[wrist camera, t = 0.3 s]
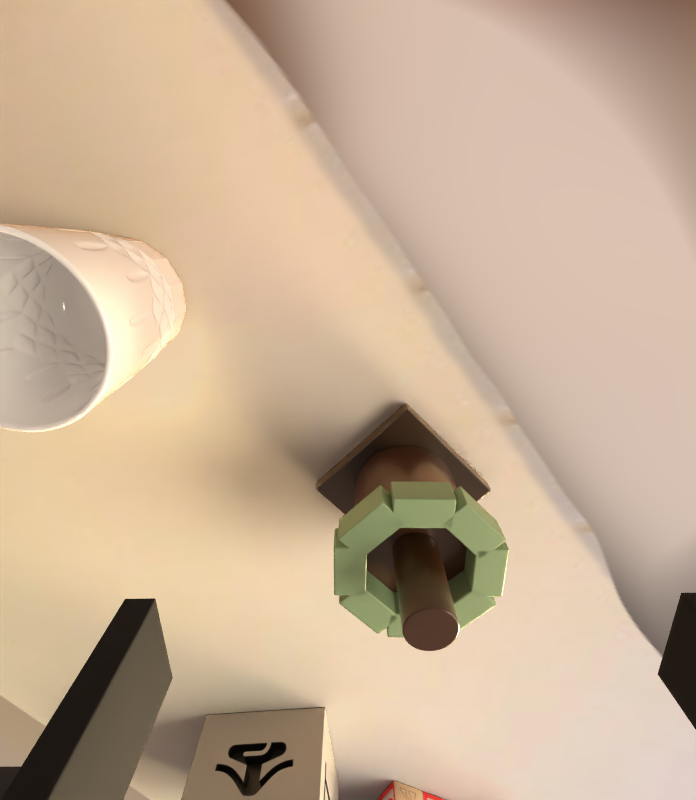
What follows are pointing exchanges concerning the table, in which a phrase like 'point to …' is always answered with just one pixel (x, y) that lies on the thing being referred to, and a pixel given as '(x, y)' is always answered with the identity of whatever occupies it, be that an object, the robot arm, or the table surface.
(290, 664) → the table surface
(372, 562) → the peg stand
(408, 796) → the stack of blocks
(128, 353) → the white cup
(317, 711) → the icon cube
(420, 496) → the ring
